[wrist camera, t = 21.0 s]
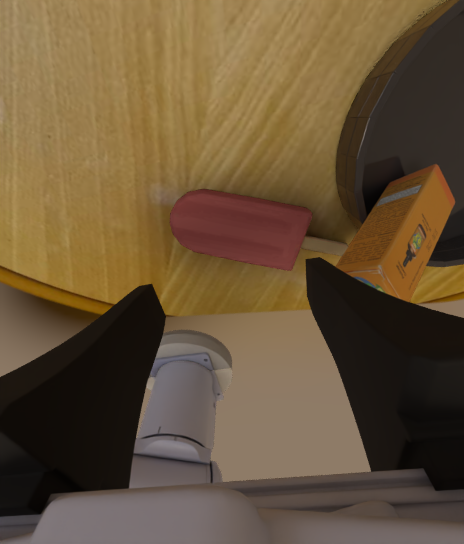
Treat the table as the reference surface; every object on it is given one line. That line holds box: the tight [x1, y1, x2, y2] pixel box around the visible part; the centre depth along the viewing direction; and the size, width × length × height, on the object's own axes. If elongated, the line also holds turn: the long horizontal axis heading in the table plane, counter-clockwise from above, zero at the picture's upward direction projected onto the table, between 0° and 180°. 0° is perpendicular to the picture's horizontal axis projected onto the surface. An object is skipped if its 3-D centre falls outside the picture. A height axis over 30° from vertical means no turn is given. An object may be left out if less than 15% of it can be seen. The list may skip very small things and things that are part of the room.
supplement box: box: [336, 164, 455, 302], centre depth 16 cm, size 3×3×10 cm
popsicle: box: [170, 189, 348, 271], centre depth 20 cm, size 5×2×15 cm
